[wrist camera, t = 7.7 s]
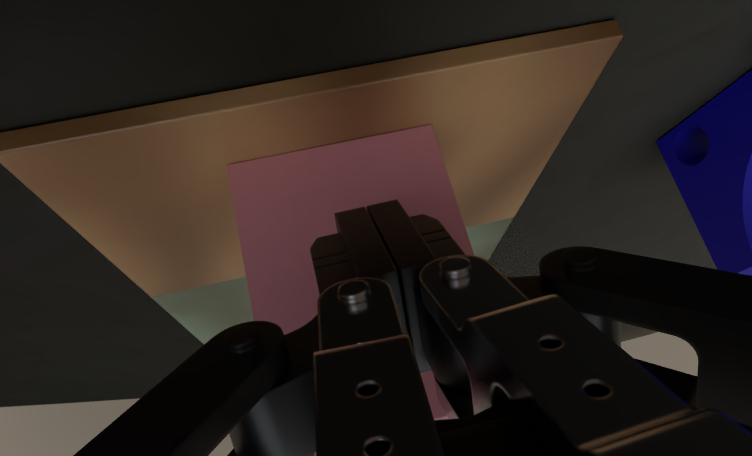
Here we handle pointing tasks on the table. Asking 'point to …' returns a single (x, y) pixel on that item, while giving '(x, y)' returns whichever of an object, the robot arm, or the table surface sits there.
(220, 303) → the multicoloured piece
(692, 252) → the table surface
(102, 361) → the table surface
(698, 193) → the blue curved block
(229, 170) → the pink block
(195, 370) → the robot arm
